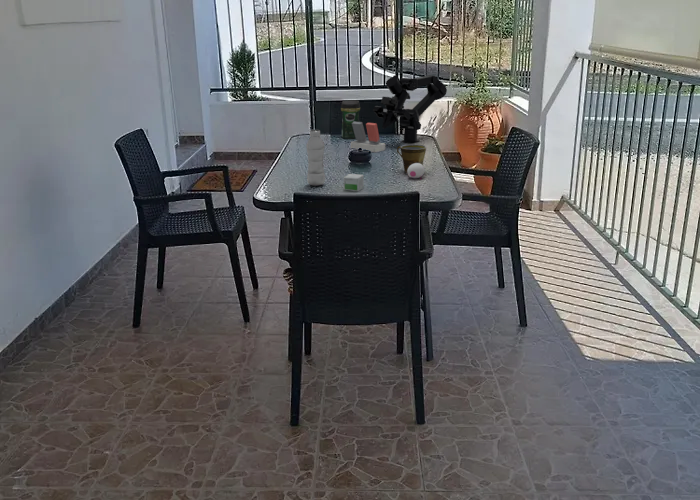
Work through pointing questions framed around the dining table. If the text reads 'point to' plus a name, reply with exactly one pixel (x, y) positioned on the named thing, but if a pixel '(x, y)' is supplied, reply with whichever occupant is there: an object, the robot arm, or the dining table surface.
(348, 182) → the small box
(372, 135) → the upright red slab
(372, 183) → the dining table surface
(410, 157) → the ceramic cup
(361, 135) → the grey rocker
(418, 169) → the stress ball
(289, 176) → the dining table surface
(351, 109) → the coffee jar
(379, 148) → the shallow grey tray
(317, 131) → the plastic bottle
